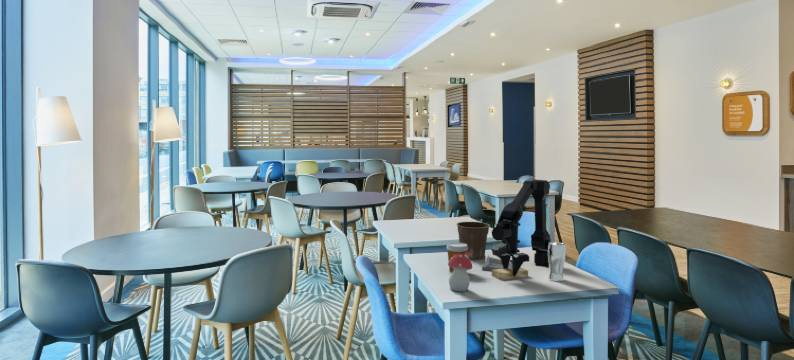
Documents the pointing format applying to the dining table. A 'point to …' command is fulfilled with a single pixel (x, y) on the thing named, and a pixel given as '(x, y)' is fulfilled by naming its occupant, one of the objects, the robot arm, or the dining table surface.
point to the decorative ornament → (460, 272)
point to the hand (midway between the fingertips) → (509, 273)
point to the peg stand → (492, 265)
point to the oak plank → (509, 273)
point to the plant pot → (474, 237)
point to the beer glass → (556, 260)
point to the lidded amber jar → (456, 250)
